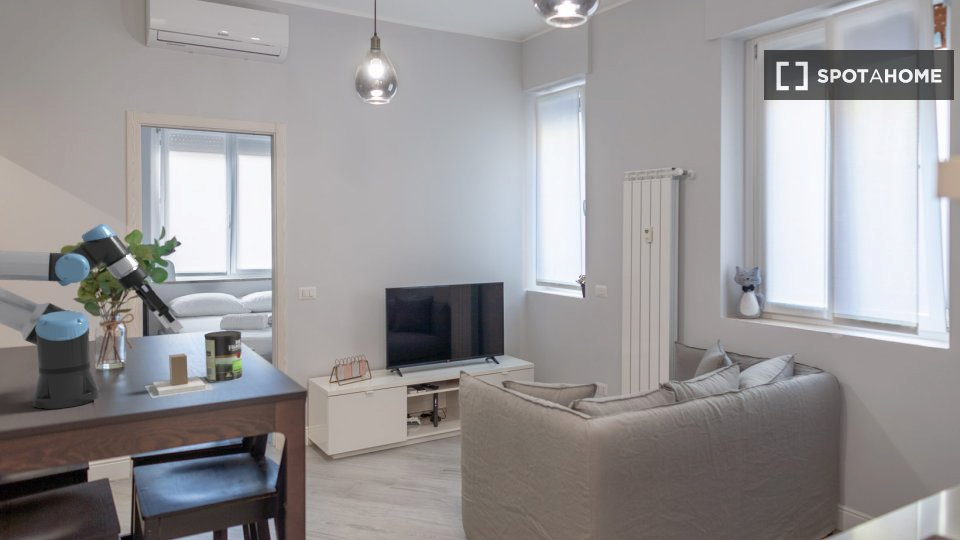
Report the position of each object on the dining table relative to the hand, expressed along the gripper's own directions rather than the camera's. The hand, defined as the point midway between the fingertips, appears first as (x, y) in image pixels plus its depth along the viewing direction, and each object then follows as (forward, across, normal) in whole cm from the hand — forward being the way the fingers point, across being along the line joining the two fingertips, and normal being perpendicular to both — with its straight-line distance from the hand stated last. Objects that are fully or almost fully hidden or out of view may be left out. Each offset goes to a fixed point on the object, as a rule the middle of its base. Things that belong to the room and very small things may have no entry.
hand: (174, 328), depth 202 cm
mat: (+12, -16, +11) cm, 22 cm away
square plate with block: (+11, -16, +10) cm, 22 cm away
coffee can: (+19, -11, 0) cm, 22 cm away
